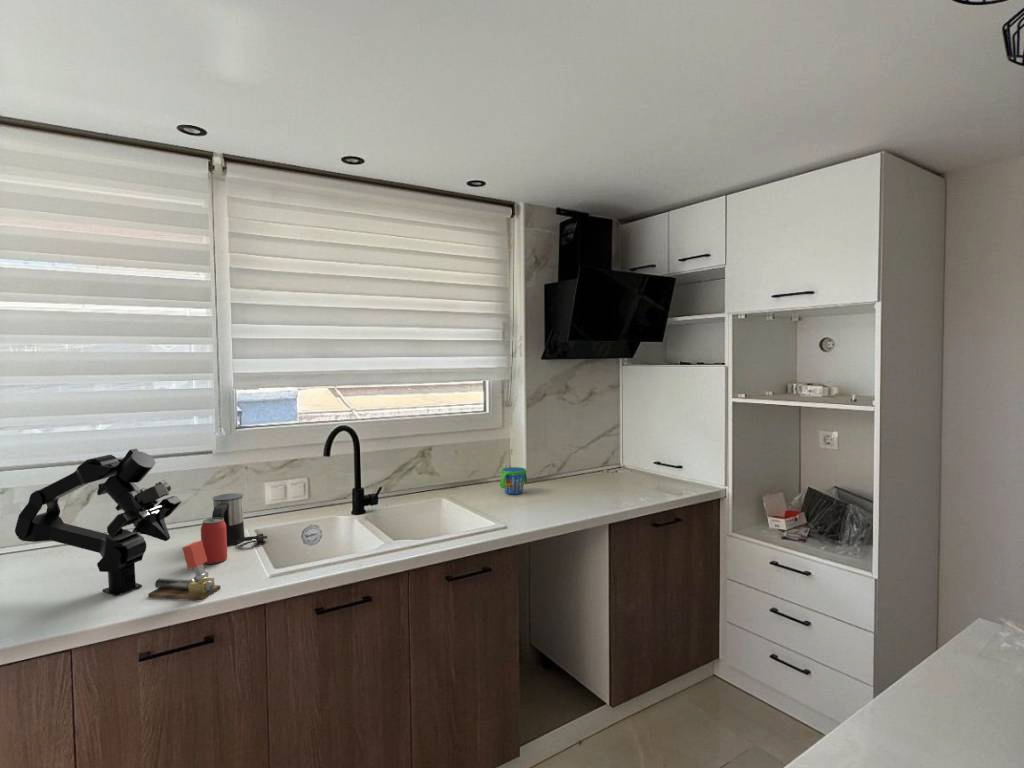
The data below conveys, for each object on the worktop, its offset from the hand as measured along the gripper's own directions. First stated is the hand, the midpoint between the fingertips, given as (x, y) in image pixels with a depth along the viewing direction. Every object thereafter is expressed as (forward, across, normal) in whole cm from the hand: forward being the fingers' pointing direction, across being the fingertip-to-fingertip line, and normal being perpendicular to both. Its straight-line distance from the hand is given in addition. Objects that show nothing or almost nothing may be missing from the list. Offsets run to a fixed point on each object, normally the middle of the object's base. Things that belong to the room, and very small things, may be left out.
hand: (168, 539), depth 144 cm
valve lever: (+13, 0, 0) cm, 13 cm away
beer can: (+7, +22, +12) cm, 26 cm away
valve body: (+12, 0, +6) cm, 13 cm away
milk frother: (+5, +38, +14) cm, 41 cm away
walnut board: (+12, 0, +7) cm, 14 cm away
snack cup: (+60, +111, -41) cm, 132 cm away
